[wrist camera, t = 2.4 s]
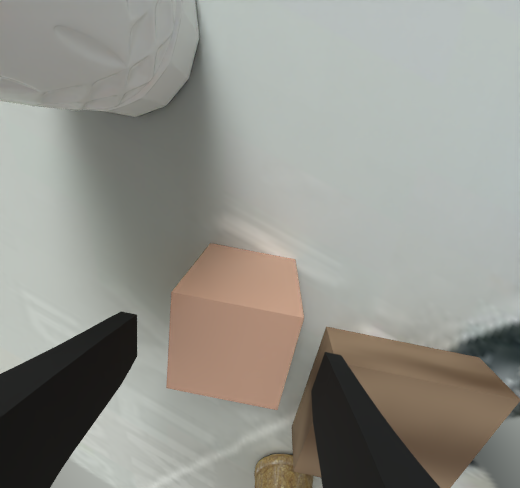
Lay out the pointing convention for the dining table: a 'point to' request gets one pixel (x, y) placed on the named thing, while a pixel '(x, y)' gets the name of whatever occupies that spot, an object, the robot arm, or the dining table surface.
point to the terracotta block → (235, 326)
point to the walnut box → (414, 401)
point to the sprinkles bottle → (280, 473)
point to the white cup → (96, 53)
